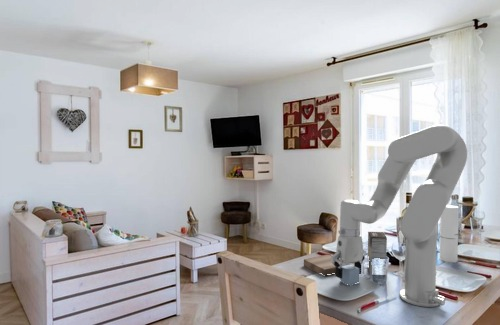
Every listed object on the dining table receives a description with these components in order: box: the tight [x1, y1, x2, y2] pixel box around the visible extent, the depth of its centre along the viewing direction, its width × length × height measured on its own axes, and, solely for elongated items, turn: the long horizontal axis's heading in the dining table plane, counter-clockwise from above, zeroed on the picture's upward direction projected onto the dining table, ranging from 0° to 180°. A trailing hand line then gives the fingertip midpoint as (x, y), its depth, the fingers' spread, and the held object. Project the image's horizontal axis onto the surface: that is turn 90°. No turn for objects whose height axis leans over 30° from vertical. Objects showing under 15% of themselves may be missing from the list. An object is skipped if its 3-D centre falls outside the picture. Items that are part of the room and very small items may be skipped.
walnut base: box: [303, 254, 351, 275], centre depth 146 cm, size 14×14×3 cm
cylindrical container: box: [439, 204, 460, 263], centre depth 156 cm, size 7×7×25 cm
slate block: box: [339, 264, 360, 286], centre depth 131 cm, size 5×5×6 cm
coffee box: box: [367, 231, 388, 276], centre depth 142 cm, size 9×6×16 cm
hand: (348, 275), depth 131 cm, fingers open, 9 cm apart
